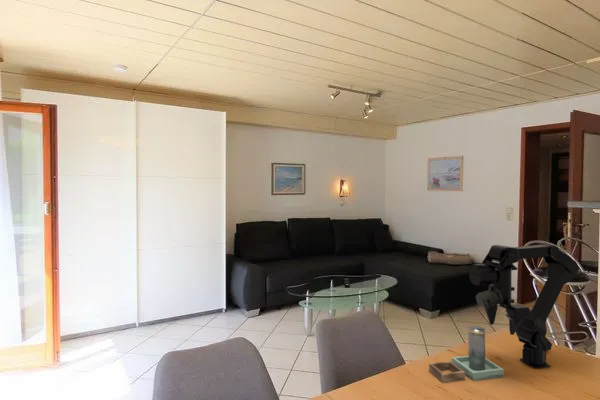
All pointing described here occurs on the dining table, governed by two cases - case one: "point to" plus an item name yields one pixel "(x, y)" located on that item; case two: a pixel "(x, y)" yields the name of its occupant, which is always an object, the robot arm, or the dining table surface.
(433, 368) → the holder
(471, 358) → the grey cylindrical piece
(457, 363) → the tray
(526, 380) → the dining table surface
